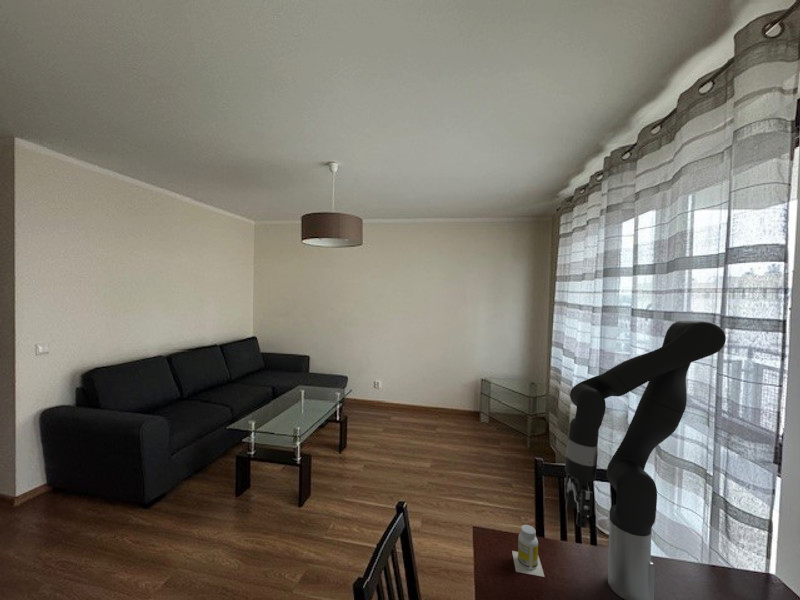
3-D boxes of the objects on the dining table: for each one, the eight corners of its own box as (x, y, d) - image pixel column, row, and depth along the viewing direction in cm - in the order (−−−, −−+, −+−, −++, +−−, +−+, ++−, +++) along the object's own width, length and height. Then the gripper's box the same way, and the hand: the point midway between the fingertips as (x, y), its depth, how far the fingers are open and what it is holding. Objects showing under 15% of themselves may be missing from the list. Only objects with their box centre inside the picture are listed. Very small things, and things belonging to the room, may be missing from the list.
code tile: (538, 556, 99) (538, 555, 99) (544, 577, 91) (544, 576, 91) (511, 551, 100) (511, 550, 100) (516, 572, 92) (516, 571, 92)
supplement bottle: (534, 557, 98) (535, 524, 98) (540, 571, 93) (541, 536, 93) (515, 555, 99) (516, 522, 99) (520, 569, 93) (521, 534, 93)
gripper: (606, 473, 83) (600, 537, 83) (587, 449, 97) (581, 504, 97) (574, 467, 85) (568, 530, 84) (559, 444, 98) (554, 498, 98)
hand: (575, 516), depth 91 cm, fingers open, 8 cm apart
